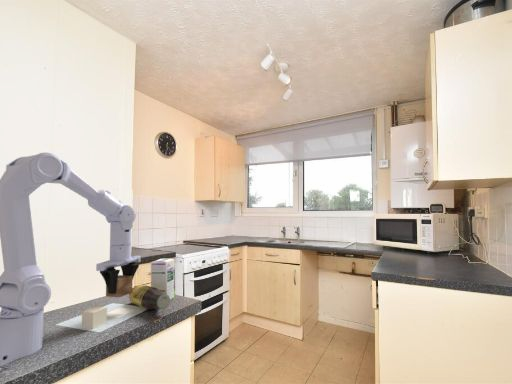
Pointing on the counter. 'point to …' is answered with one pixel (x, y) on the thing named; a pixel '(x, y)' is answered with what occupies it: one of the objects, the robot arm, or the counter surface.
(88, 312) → the cream block
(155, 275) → the syrup box
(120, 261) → the robot arm
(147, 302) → the sauce bottle
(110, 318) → the board
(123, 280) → the walnut block
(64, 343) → the counter surface
